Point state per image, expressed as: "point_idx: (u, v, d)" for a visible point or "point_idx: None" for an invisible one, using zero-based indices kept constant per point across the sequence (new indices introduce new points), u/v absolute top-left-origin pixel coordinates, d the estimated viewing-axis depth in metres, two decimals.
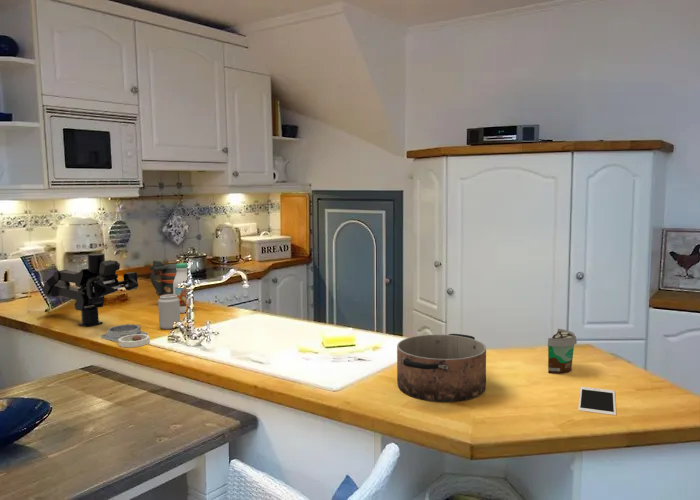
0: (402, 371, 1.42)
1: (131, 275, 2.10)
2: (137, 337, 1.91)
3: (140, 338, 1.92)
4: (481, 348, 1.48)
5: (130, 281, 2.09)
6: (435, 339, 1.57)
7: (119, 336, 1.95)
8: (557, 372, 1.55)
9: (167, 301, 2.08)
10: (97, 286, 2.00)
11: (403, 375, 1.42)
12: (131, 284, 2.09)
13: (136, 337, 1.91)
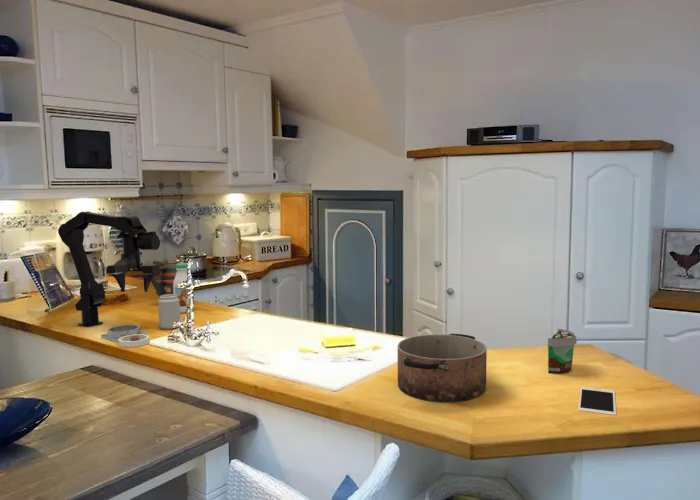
0: (403, 371, 1.42)
1: (145, 276, 2.09)
2: (135, 337, 1.91)
3: (138, 338, 1.92)
4: (481, 348, 1.48)
5: None
6: (435, 339, 1.57)
7: (119, 336, 1.95)
8: (557, 372, 1.55)
9: (167, 301, 2.07)
10: None
11: (403, 375, 1.42)
12: None
13: (134, 337, 1.91)
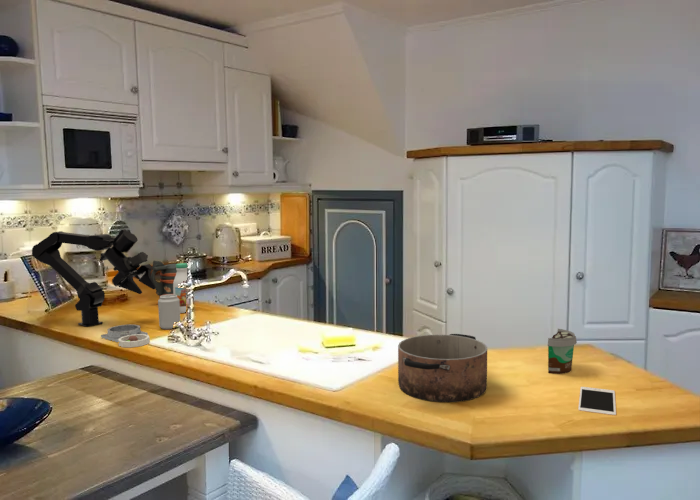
0: (404, 371, 1.42)
1: (149, 271, 2.18)
2: (134, 337, 1.91)
3: (137, 338, 1.92)
4: (482, 348, 1.47)
5: (147, 277, 2.17)
6: (436, 339, 1.57)
7: (119, 336, 1.95)
8: (557, 372, 1.55)
9: (167, 301, 2.08)
10: (127, 279, 2.06)
11: (404, 375, 1.42)
12: (146, 280, 2.17)
13: (133, 337, 1.91)
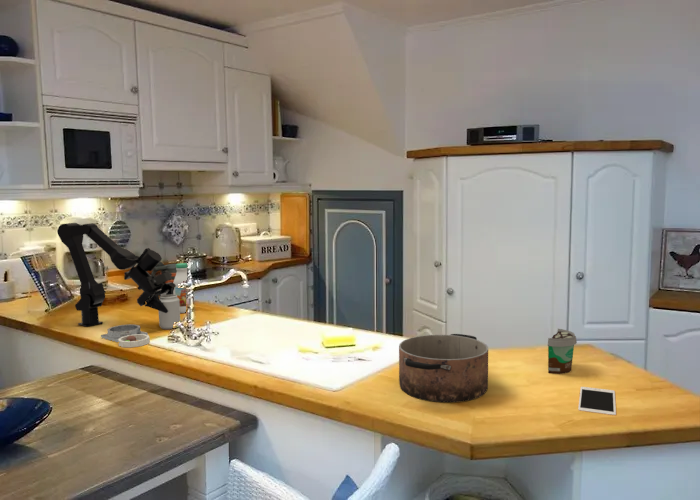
0: (404, 371, 1.42)
1: (172, 290, 2.16)
2: (133, 337, 1.92)
3: (135, 338, 1.92)
4: (483, 348, 1.47)
5: None
6: (436, 339, 1.57)
7: (119, 336, 1.95)
8: (557, 372, 1.55)
9: (167, 301, 2.08)
10: (153, 298, 2.05)
11: (405, 375, 1.42)
12: None
13: (132, 337, 1.92)
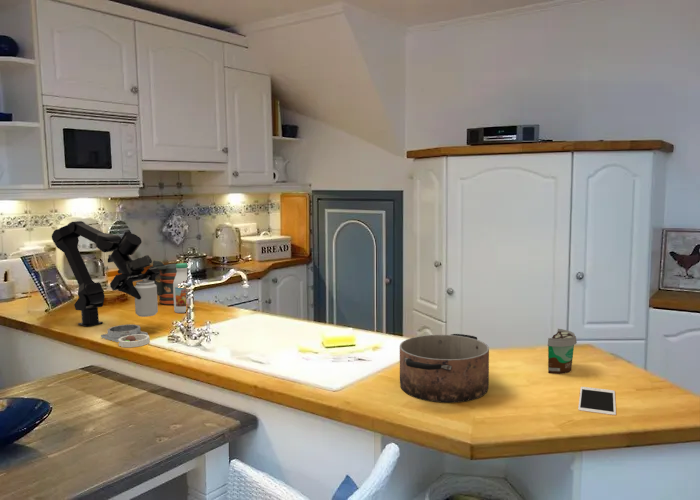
0: (405, 371, 1.42)
1: (154, 276, 2.08)
2: (132, 337, 1.92)
3: (135, 338, 1.93)
4: (484, 348, 1.47)
5: None
6: (437, 339, 1.56)
7: (119, 336, 1.95)
8: (557, 372, 1.55)
9: (140, 288, 2.00)
10: (126, 283, 1.99)
11: (406, 375, 1.42)
12: None
13: (131, 337, 1.92)
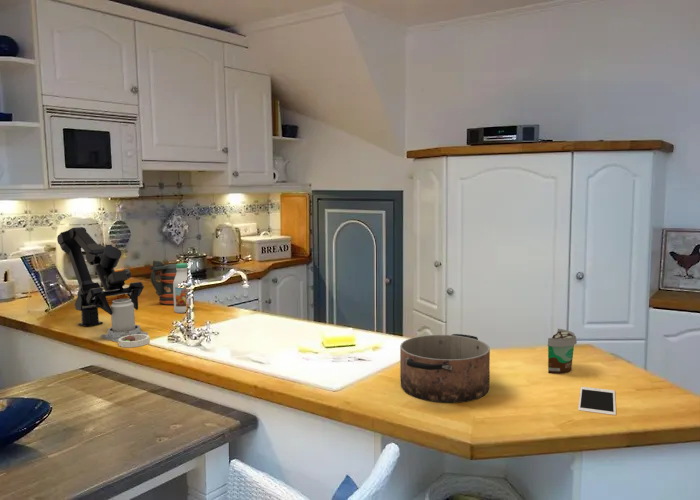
0: (406, 371, 1.42)
1: (137, 290, 2.04)
2: (132, 337, 1.92)
3: (134, 338, 1.93)
4: (484, 348, 1.47)
5: (133, 297, 2.03)
6: (438, 339, 1.56)
7: (119, 336, 1.95)
8: (557, 372, 1.55)
9: (114, 306, 1.96)
10: (98, 298, 1.95)
11: (406, 376, 1.41)
12: (132, 300, 2.04)
13: (131, 337, 1.92)
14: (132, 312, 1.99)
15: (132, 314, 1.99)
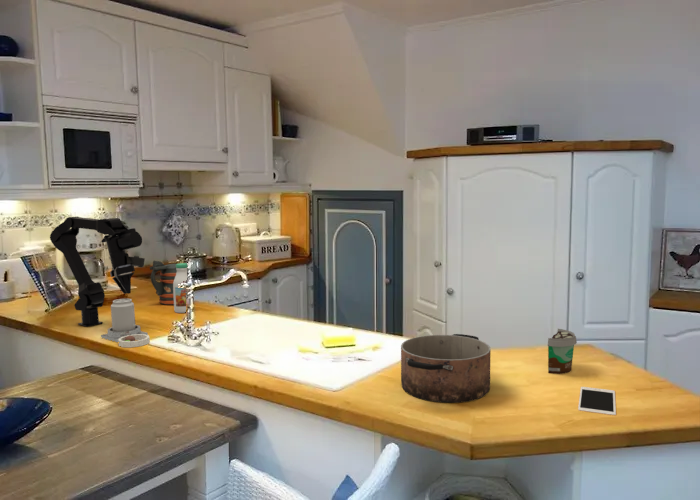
0: (407, 372, 1.42)
1: None
2: (132, 337, 1.92)
3: (134, 338, 1.93)
4: (485, 348, 1.47)
5: None
6: (438, 339, 1.56)
7: (119, 336, 1.95)
8: (557, 372, 1.55)
9: (114, 306, 1.96)
10: (128, 275, 2.04)
11: (407, 376, 1.41)
12: None
13: (131, 337, 1.92)
14: (132, 312, 1.99)
15: (132, 314, 1.99)
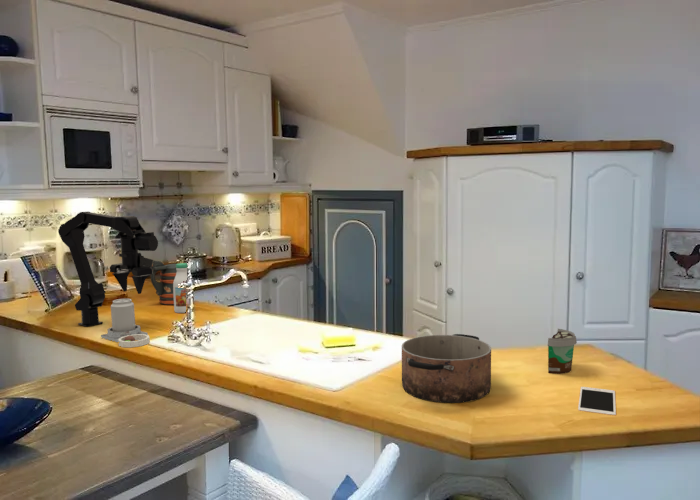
0: (407, 372, 1.41)
1: None
2: (132, 337, 1.92)
3: (134, 338, 1.93)
4: (486, 348, 1.47)
5: (125, 278, 2.15)
6: (439, 339, 1.56)
7: (119, 336, 1.95)
8: (557, 372, 1.55)
9: (114, 306, 1.96)
10: (144, 276, 2.08)
11: (408, 376, 1.41)
12: (123, 280, 2.14)
13: (131, 337, 1.92)
14: (132, 312, 1.99)
15: (132, 314, 1.99)
